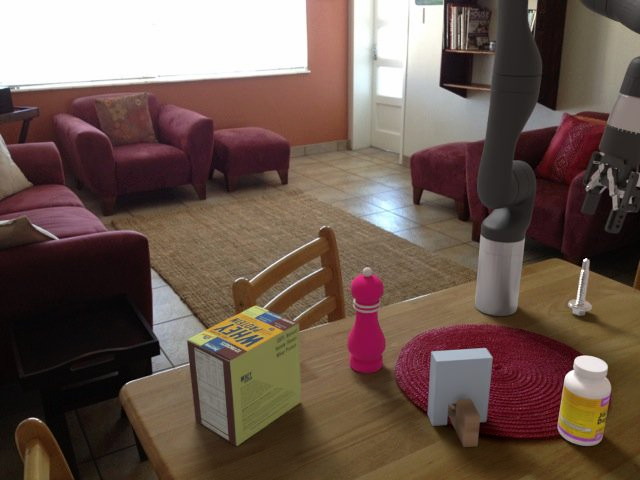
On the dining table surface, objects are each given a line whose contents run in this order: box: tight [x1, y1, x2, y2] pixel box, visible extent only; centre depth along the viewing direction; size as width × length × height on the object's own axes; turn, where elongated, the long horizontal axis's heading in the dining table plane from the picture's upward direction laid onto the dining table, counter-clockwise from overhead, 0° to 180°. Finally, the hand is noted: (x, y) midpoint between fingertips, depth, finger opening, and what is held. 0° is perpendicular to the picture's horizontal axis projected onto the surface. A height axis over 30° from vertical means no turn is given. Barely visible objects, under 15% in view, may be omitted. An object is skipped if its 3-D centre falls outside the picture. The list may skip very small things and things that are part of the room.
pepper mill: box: [346, 267, 387, 374], centre depth 112 cm, size 7×7×20 cm
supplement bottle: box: [557, 355, 612, 447], centre depth 94 cm, size 7×7×13 cm
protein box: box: [186, 305, 302, 447], centre depth 100 cm, size 10×15×16 cm
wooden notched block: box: [448, 399, 481, 448], centre depth 101 cm, size 17×2×6 cm, turn 6°
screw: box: [567, 258, 593, 317], centre depth 132 cm, size 13×5×5 cm
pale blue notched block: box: [427, 347, 494, 427], centre depth 98 cm, size 9×3×12 cm, turn 96°
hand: (598, 222), depth 101 cm, fingers open, 8 cm apart
